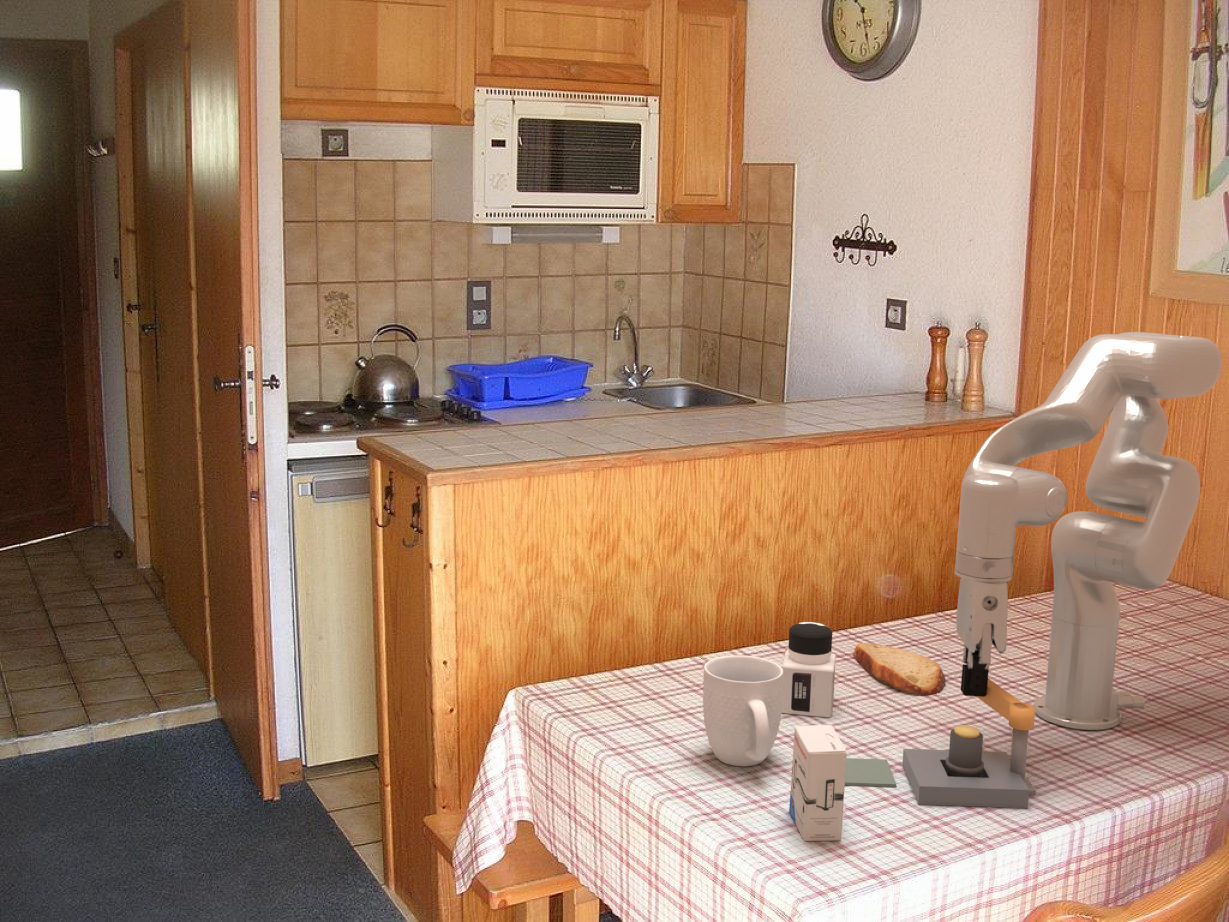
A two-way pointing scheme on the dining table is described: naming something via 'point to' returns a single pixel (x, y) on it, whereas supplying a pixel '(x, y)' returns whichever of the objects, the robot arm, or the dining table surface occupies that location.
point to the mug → (742, 707)
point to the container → (809, 671)
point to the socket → (971, 778)
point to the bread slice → (901, 669)
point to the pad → (868, 773)
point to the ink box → (818, 782)
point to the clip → (1009, 707)
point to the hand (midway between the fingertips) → (973, 693)
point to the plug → (965, 752)
